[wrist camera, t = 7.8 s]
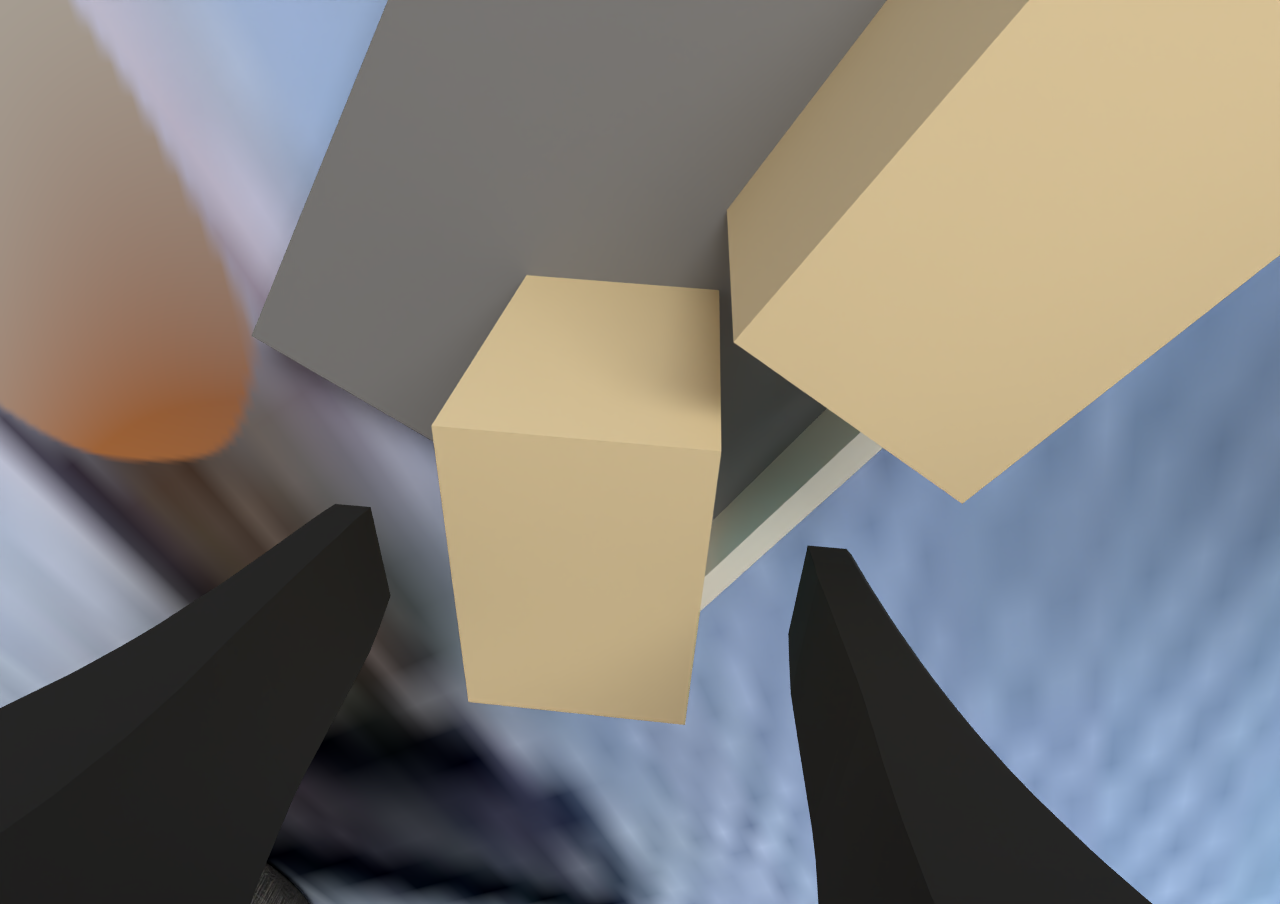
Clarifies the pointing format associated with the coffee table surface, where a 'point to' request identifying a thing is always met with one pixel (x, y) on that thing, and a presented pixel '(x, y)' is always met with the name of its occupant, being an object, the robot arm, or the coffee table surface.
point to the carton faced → (1008, 214)
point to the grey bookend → (563, 208)
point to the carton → (584, 496)
